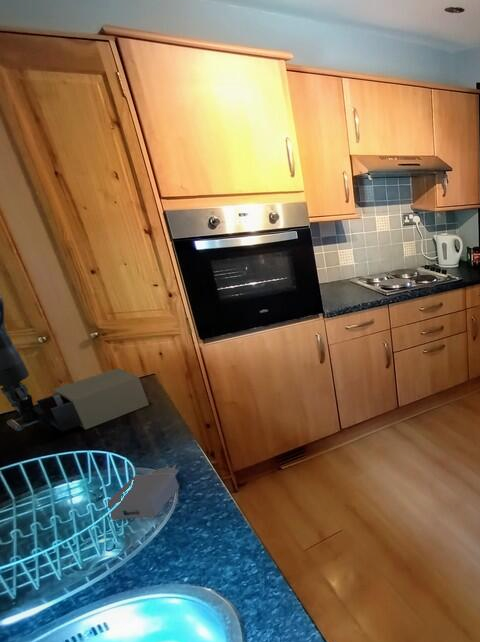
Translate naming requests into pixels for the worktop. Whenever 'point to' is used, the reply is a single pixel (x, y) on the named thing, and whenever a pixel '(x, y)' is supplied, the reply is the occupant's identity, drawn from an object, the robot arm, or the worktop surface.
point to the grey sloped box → (104, 396)
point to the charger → (145, 494)
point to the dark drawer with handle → (51, 417)
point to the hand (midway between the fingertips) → (30, 421)
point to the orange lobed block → (58, 400)
